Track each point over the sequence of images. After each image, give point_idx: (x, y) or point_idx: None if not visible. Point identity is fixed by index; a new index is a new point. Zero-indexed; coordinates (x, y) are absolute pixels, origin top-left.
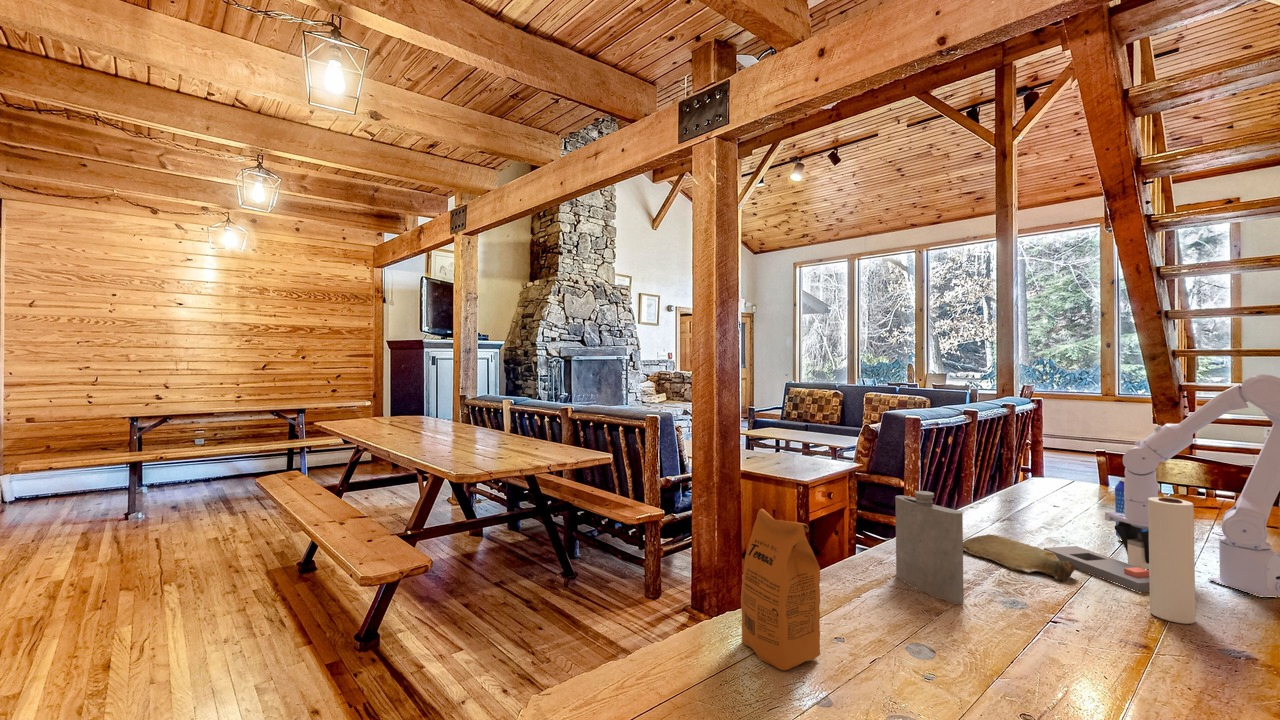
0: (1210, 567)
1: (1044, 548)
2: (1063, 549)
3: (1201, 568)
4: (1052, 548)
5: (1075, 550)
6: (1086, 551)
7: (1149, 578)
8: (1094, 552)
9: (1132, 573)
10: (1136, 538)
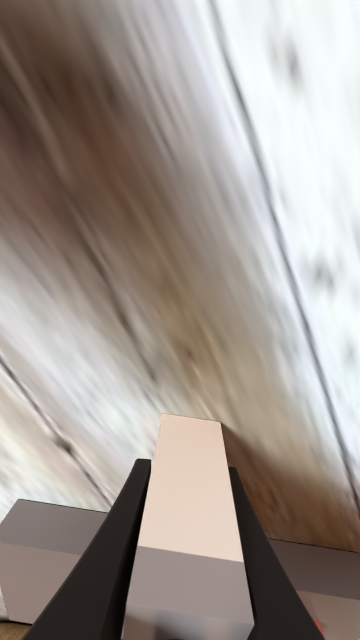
0: (332, 94)
1: (12, 619)
2: (27, 595)
3: (309, 193)
4: (15, 609)
5: (42, 580)
6: (57, 564)
7: (327, 635)
8: (73, 556)
9: None
10: (111, 623)
